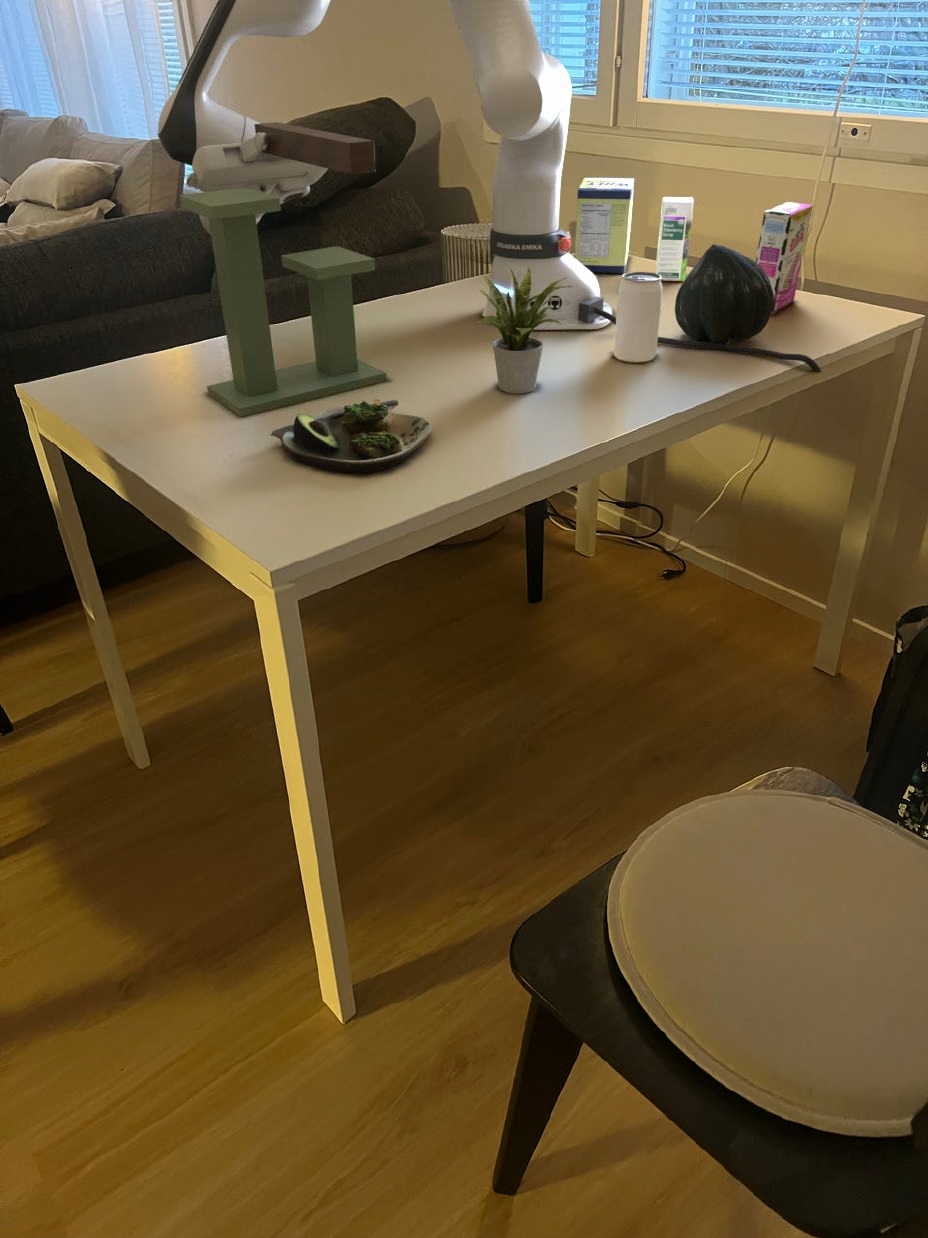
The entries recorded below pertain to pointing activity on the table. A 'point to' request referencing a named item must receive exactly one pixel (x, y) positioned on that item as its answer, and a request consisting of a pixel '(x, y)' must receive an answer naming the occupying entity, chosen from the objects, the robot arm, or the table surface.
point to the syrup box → (674, 238)
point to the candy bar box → (783, 249)
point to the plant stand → (249, 315)
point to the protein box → (604, 223)
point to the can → (638, 317)
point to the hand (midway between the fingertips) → (280, 135)
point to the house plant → (518, 334)
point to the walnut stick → (320, 148)
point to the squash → (724, 298)
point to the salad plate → (354, 437)
